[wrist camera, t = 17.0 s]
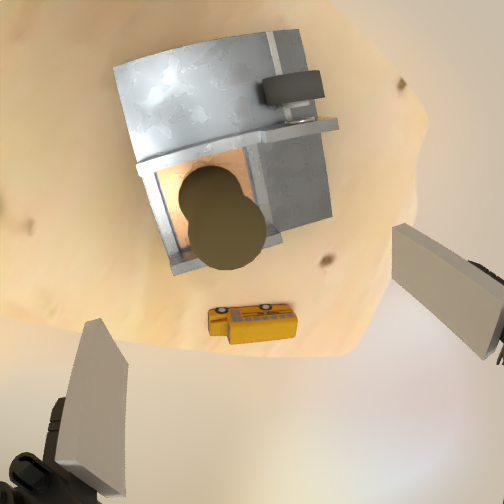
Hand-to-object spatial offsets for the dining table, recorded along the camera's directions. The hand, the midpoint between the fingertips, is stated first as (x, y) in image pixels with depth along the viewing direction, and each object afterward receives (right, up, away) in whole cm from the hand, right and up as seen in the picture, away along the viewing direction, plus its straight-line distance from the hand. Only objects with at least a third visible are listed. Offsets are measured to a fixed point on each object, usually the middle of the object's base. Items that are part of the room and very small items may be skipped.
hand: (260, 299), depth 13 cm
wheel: (+3, +17, +14) cm, 22 cm away
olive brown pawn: (-4, +7, +16) cm, 18 cm away
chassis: (-3, +12, +16) cm, 21 cm away
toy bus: (-1, -6, +25) cm, 26 cm away
